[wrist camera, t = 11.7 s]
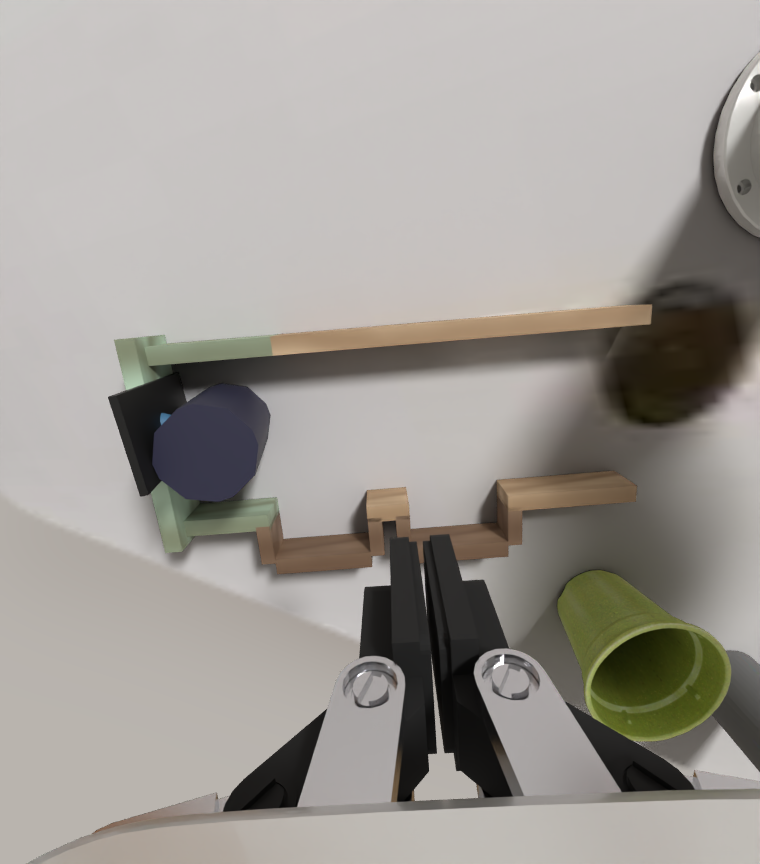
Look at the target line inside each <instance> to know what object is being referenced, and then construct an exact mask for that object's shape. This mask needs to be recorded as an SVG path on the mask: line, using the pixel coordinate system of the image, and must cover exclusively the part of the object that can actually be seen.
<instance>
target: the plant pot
mask: <svg viewBox="0 0 760 864" xmlns="http://www.w3.org/2000/svg"><path fill="white" fill-rule="evenodd" d="M557 609H558V614H559V617H560V619H561V621H562V624H563V626H564V629H565V631H566V633H567V636H568V638H569V641H570V643H571V646H572V648H573V651H574V653H575V656H576V658H577V660H578V663H579V665H580V668H581V670H582V678H583V683H584V698H585V702H586V705H587V708H588V710H589V712H590V714H591V716H592V717H593V718H594V719H596V720H598V721H599V722H601V723H603V724H604V725H606V726H608V727H610V728H611V729H613V730H615V731H616V732H618V733H620V734H622V735H623V736H625V737H627V738H628V739H630V740H632V741H640V742H641V741H651V742H652V741H661V740H665V739H670V738H673V737H675V736H678V735H682V734H684V733H686V732H688V731H690V730H691V729H693V728H694V727H696V726H698V725H700V724H701V723H703V722H704V721H705V720H706V719H708V718H709V717H710V716H711V715H712V714H713V712H714V711H715V710H716V709H717V708H718V707H719V706H720V704H721V703H722V701H723V699H724V697H725V696H726V694H727V691H728V688H729V685H730V681H731V665H730V661H729V657H728V655H727V653H726V651H725V649H724V648H723V646H722V645H721V644H720V643H719V642H718V641H717V640H716V639H715V638H714V637H713V636H712V635H711V634H709V633H708V632H706V631H705V630H703V629H701V628H699V627H697V626H694V625H692V624H688V623H685V622H684V621H682V620H680V619H677V618H675V617H673V616H671V615H670V614H668V613H667V612H666V611H664V610H663V609H662V608H661V607H659V606H658V605H656V604H655V603H654V602H652V601H651V600H650V599H648V598H647V597H646V596H645V595H643V594H642V593H641V592H639V591H638V590H637V589H636V588H634V587H633V586H632V585H630V584H629V583H628V582H627V581H625V580H624V579H622V578H621V577H620V576H618V575H616V574H613V573H610V572H606V571H603V570H593V571H588V572H585V573H582V574H580V575H578V576H576V577H574V578H573V579H572V580H570V581H569V582H568V583H567V584H566V586H565V589H564V591H563V593H562V595H561V596H560V598H559V599H558V603H557Z"/></svg>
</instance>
